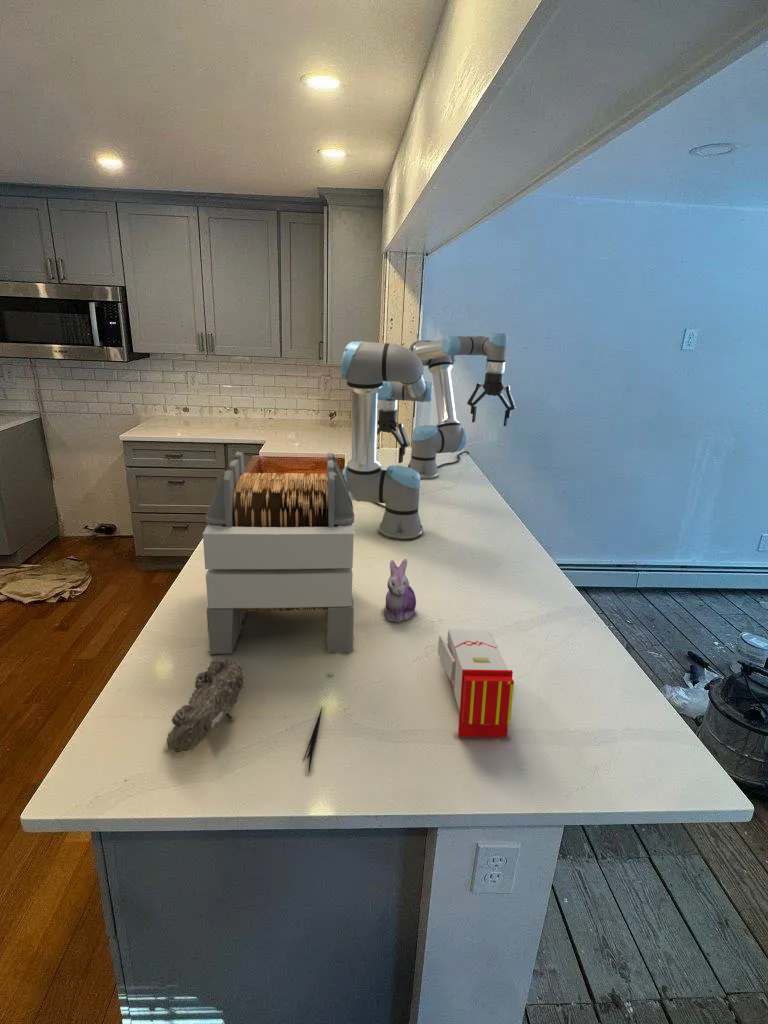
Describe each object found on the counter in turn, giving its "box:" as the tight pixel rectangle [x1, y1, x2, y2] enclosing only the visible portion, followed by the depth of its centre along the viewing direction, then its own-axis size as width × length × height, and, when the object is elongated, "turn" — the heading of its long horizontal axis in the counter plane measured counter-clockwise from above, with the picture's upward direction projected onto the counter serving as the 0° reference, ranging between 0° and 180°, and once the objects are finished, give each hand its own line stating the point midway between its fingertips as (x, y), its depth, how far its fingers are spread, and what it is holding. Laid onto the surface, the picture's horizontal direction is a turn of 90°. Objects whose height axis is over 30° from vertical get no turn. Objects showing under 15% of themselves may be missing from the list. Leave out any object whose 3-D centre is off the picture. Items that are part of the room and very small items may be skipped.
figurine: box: [384, 558, 417, 623], centre depth 145 cm, size 9×10×15 cm
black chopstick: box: [301, 673, 332, 771], centre depth 108 cm, size 2×28×2 cm
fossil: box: [166, 658, 245, 754], centre depth 106 cm, size 22×10×15 cm
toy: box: [437, 628, 515, 738], centre depth 117 cm, size 12×13×30 cm
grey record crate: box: [202, 451, 355, 655], centre depth 137 cm, size 34×33×41 cm
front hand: (385, 459), depth 238 cm, fingers open, 13 cm apart
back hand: (489, 423), depth 240 cm, fingers open, 13 cm apart
